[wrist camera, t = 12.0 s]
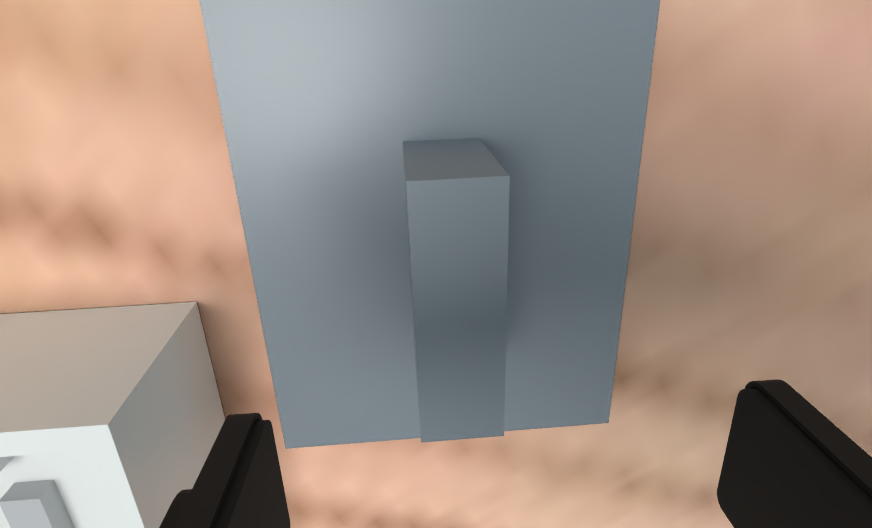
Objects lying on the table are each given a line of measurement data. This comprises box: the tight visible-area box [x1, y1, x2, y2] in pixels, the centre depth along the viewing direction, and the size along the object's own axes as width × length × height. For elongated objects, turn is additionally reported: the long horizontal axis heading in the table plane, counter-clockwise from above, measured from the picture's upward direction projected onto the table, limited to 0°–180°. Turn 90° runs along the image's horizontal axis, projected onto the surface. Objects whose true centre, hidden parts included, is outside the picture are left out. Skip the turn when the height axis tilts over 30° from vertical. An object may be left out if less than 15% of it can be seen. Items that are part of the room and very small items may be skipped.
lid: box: [200, 0, 660, 449], centre depth 17 cm, size 17×14×7 cm
